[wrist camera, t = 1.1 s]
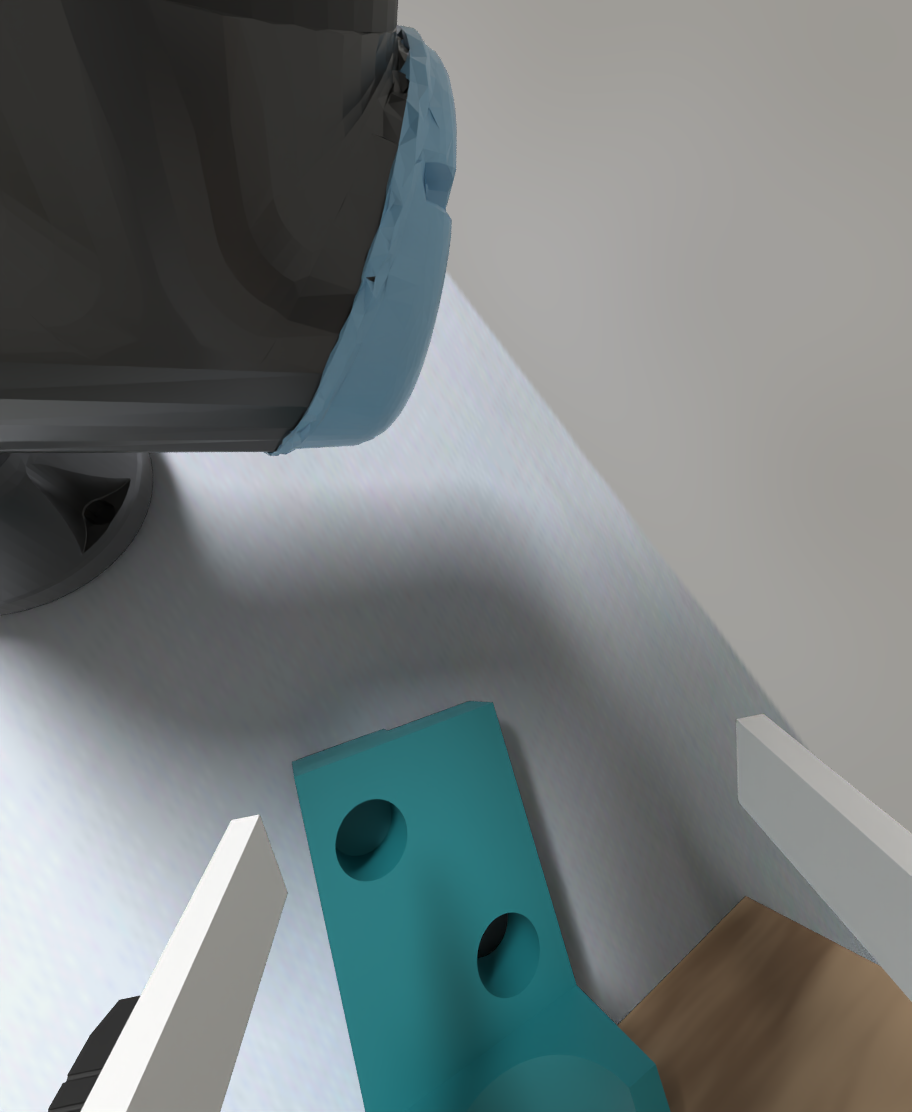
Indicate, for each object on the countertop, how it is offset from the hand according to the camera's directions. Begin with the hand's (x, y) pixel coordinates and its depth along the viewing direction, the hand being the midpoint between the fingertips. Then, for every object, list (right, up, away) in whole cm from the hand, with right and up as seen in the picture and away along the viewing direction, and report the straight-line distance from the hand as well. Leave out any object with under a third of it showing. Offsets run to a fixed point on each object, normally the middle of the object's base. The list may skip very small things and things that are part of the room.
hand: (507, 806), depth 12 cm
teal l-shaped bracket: (-3, -12, +14) cm, 19 cm away
